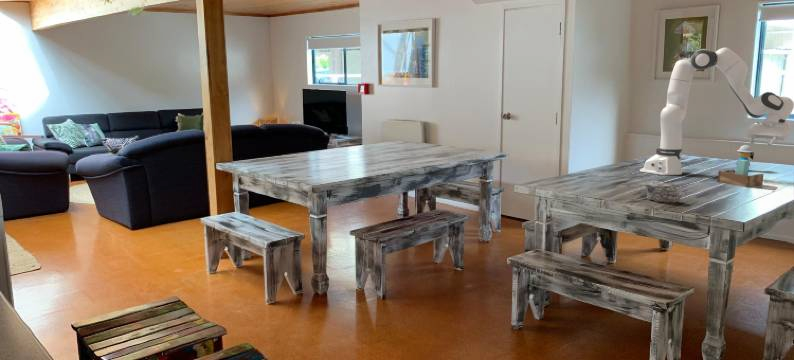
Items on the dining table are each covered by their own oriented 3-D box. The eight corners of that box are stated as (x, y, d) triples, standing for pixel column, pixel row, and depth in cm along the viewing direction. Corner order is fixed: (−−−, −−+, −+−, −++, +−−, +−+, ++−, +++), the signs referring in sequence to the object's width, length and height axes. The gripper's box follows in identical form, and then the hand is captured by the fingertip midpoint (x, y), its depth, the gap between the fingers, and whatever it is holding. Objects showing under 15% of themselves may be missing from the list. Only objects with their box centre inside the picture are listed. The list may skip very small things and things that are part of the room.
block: (739, 182, 325) (742, 159, 323) (747, 183, 321) (749, 160, 319) (734, 183, 323) (737, 160, 321) (742, 184, 320) (744, 161, 317)
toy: (754, 171, 360) (757, 146, 358) (737, 171, 362) (740, 145, 359) (749, 169, 369) (751, 144, 366) (733, 169, 370) (735, 143, 367)
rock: (639, 199, 287) (644, 178, 284) (646, 195, 293) (651, 175, 290) (673, 210, 278) (679, 189, 274) (680, 206, 284) (685, 185, 280)
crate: (731, 181, 332) (733, 169, 331) (762, 186, 318) (763, 174, 316) (717, 183, 326) (718, 171, 325) (747, 189, 312) (748, 176, 311)
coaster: (755, 189, 310) (755, 187, 310) (759, 187, 317) (759, 185, 317) (773, 191, 305) (773, 189, 305) (777, 189, 312) (777, 187, 311)
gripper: (751, 118, 335) (738, 137, 332) (790, 121, 317) (777, 141, 314) (756, 126, 337) (743, 145, 335) (794, 129, 320) (781, 149, 317)
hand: (760, 143), depth 324 cm, fingers open, 8 cm apart
